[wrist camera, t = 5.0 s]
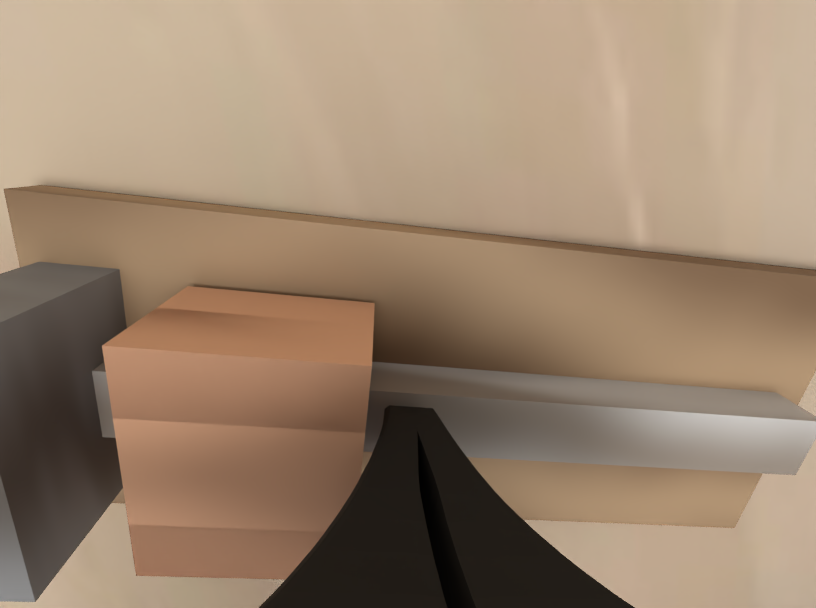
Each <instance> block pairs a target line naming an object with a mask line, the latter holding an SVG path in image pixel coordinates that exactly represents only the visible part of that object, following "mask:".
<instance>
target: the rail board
mask: <svg viewBox="0 0 816 608" xmlns="http://www.w3.org/2000/svg"><path fill="white" fill-rule="evenodd" d="M4 193H5V198H6V203H7V208H8V212H9V217H10V222H11V227H12V232H13V236H14V241H15V246H16V251H17V255H18V260H19V265H20V268H17V269H14V270H11V271H8V272H5V273H2V274H0V601H15V602H36V600H37V599H38V598H39V596H40V595H41V594H42V592H43V591H44V590H45V588H46V587H47V586H48V585H49V583H50V582H51V581H52V579H53V578H54V577H55V575H56V574H57V573H58V572H59V570H60V569H61V568H62V566H63V565H64V564H65V562H66V561H67V560H68V559H69V557H70V556H71V555H72V553H73V552H74V551H75V549H76V548H77V547H78V546H79V544H80V543H81V542H82V540H83V539H84V538H85V536H86V535H87V534H88V533H89V531H90V530H91V529H92V527H93V526H94V525H95V523H96V522H97V521H98V520H99V518H100V517H101V516H102V514H103V513H104V512H105V510H106V509H107V508H108V507H109V505H110V504H111V503H125V497H124V490H123V484H122V477H121V470H120V464H119V457H118V450H117V444H116V437H115V430H114V423H113V417H112V410H111V403H110V397H109V390H108V383H107V377H106V370H105V363H104V356H103V350H102V345H104V344H105V343H107V342H108V341H109V340H111V339H112V338H114V337H115V336H117V335H118V334H120V333H121V332H122V331H124V330H125V329H127V328H128V327H130V326H131V325H132V324H134V323H135V322H137V321H138V320H140V319H141V318H143V317H144V316H145V315H147V314H148V313H150V312H151V311H153V310H154V309H156V308H157V307H158V306H160V305H161V304H163V303H164V302H166V301H167V300H168V299H170V298H171V297H173V296H174V295H176V294H177V293H179V292H180V291H181V290H183V289H184V288H186V287H187V286H192V287H203V288H214V289H225V290H236V291H247V292H258V293H269V294H280V295H291V296H302V297H314V298H325V299H336V300H347V301H358V302H369V303H375V308H374V330H373V353H372V370H371V380H370V390H369V400H368V410H367V420H366V430H365V440H364V450H363V460H362V470H361V475H362V473H363V471H364V469H365V467H366V465H367V463H368V461H369V459H370V457H371V455H372V453H373V450H374V448H375V445H376V443H377V440H378V438H379V435H380V432H381V429H382V426H383V418H384V410H385V408H386V407H388V406H389V405H393V406H408V407H422V408H433V409H434V410H435V412H436V413H437V414H438V416H439V418H440V419H441V421H442V422H443V424H444V425H445V427H446V428H447V430H448V431H449V433H450V434H451V436H452V437H453V438H454V440H455V441H456V443H457V444H458V446H459V447H460V448H461V450H462V451H463V452H464V454H465V455H466V456H467V458H468V459H469V460H470V462H471V463H472V464H473V466H474V467H475V468H476V469H477V471H478V472H479V473H480V474H481V475H482V477H483V478H484V479H485V480H486V481H487V483H488V484H489V485H490V486H491V487H492V488H493V490H494V491H495V492H496V493H497V494H498V495H499V496H500V497H501V498H502V499H503V501H504V502H505V503H506V504H507V505H508V506H509V507H510V508H511V509H512V510H514V511H515V512H516V513H517V514H518V515H519V516H520V517H521V518H522V519H526V520H551V521H575V522H600V523H625V524H650V525H674V526H699V527H724V528H735V526H736V524H737V522H738V520H739V518H740V516H741V514H742V512H743V510H744V508H745V506H746V505H747V503H748V501H749V499H750V497H751V495H752V493H753V491H754V489H755V487H756V485H757V483H758V481H759V479H760V477H761V475H762V474H763V473H765V474H784V475H796V473H797V471H798V470H799V468H800V466H801V464H802V462H803V461H804V459H805V457H806V455H807V453H808V452H809V450H810V448H811V446H812V444H813V442H814V441H815V439H816V416H814V415H812V414H811V413H809V412H808V411H806V410H804V409H803V408H801V407H799V406H798V404H799V402H800V400H801V398H802V396H803V394H804V392H805V390H806V388H807V387H808V385H809V383H810V381H811V379H812V377H813V375H814V373H815V371H816V270H809V269H800V268H791V267H782V266H773V265H764V264H755V263H746V262H736V261H727V260H718V259H709V258H700V257H691V256H682V255H673V254H664V253H654V252H645V251H636V250H627V249H618V248H609V247H600V246H591V245H581V244H572V243H563V242H554V241H545V240H536V239H527V238H518V237H508V236H499V235H490V234H481V233H472V232H463V231H454V230H445V229H436V228H426V227H417V226H408V225H399V224H390V223H381V222H372V221H363V220H353V219H344V218H335V217H326V216H317V215H308V214H299V213H290V212H280V211H271V210H262V209H253V208H244V207H235V206H226V205H217V204H207V203H198V202H189V201H180V200H171V199H162V198H153V197H144V196H135V195H125V194H116V193H107V192H98V191H89V190H80V189H71V188H62V187H52V186H43V185H39V186H29V187H19V188H9V189H4Z"/></svg>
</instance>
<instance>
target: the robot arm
mask: <svg viewBox="0 0 816 608" xmlns="http://www.w3.org/2000/svg"><path fill="white" fill-rule="evenodd" d="M259 608H635V607H633V606H631V605H630V604H628V603H627V602H625V601H624V600H622V599H621V598H619V597H618V596H617V595H615V594H614V593H612V592H611V591H610V590H608V589H607V588H605V587H604V586H603V585H601V584H600V583H599V582H597V581H596V580H595V579H593V578H592V577H591V576H589V575H588V574H586V573H585V572H584V571H582V570H581V569H580V568H579V567H577V566H576V565H575V564H574V563H572V562H571V561H570V560H568V559H567V558H566V557H565V556H563V555H562V554H561V553H560V552H559V551H558V550H556V549H555V548H554V547H553V546H552V545H551V544H549V543H548V542H547V541H546V540H545V539H543V538H542V537H541V536H540V535H539V534H538V533H537V532H535V531H534V530H533V529H532V528H531V527H530V526H529V525H528V524H527V523H526V522H525V521H524V520H523V519H522V518H521V517H520V516H519V515H518V514H517V513H516V512H515V511H514V510H512V509H511V508H510V507H509V506H508V505H507V504H506V503H505V502H504V501H503V499H502V498H501V497H500V496H499V495H498V494H497V493H496V492H495V491H494V490H493V488H492V487H491V486H490V485H489V484H488V483H487V481H486V480H485V479H484V478H483V477H482V475H481V474H480V473H479V472H478V471H477V469H476V468H475V467H474V466H473V464H472V463H471V462H470V460H469V459H468V458H467V456H466V455H465V454H464V452H463V451H462V450H461V448H460V447H459V446H458V444H457V443H456V441H455V440H454V438H453V437H452V436H451V434H450V433H449V431H448V430H447V428H446V427H445V425H444V424H443V422H442V421H441V419H440V418H439V416H438V414H437V413H436V412H435V410H434V409H433V408H422V407H408V406H393V405H389V406H388V407H386V408H385V410H384V418H383V426H382V429H381V432H380V435H379V438H378V440H377V443H376V445H375V448H374V450H373V453H372V455H371V457H370V459H369V461H368V463H367V465H366V467H365V469H364V471H363V473H362V475H361V477H360V479H359V481H358V482H357V484H356V486H355V488H354V489H353V491H352V493H351V494H350V496H349V498H348V499H347V501H346V502H345V504H344V506H343V507H342V509H341V510H340V512H339V513H338V515H337V516H336V517H335V519H334V520H333V522H332V523H331V524H330V526H329V527H328V529H327V530H326V531H325V533H324V534H323V535H322V537H321V538H320V539H319V541H318V542H317V543H316V545H315V546H314V547H313V548H312V550H311V551H310V552H309V553H308V554H307V555H306V557H305V558H304V559H303V560H302V561H301V562H300V564H299V565H298V566H297V567H296V568H295V569H294V571H293V572H292V573H291V574H290V575H289V576H288V578H287V579H286V580H285V581H284V582H283V583H282V584H281V585H280V587H279V588H278V589H277V590H276V591H275V592H274V593H273V594H272V595H271V596H270V597H269V598H268V599H267V600H266V601H265V602H264V603H263V604H262V605H261V606H260V607H259Z"/></svg>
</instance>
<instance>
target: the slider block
mask: <svg viewBox="0 0 816 608" xmlns="http://www.w3.org/2000/svg"><path fill="white" fill-rule="evenodd" d="M374 308H375V303H369V302H358V301H347V300H336V299H325V298H314V297H302V296H291V295H280V294H269V293H258V292H247V291H236V290H225V289H214V288H203V287H192V286H187V287H186V288H184V289H183V290H181V291H180V292H179V293H177V294H176V295H174V296H173V297H171V298H170V299H168V300H167V301H166V302H164V303H163V304H161V305H160V306H158V307H157V308H156V309H154V310H153V311H151V312H150V313H148V314H147V315H145V316H144V317H143V318H141V319H140V320H138V321H137V322H135V323H134V324H132V325H131V326H130V327H128V328H127V329H125V330H124V331H122V332H121V333H120V334H118V335H117V336H115V337H114V338H112V339H111V340H109V341H108V342H107V343H105V344H104V345H102V350H103V356H104V363H105V370H106V377H107V383H108V390H109V397H110V403H111V410H112V417H113V423H114V430H115V437H116V444H117V450H118V457H119V464H120V470H121V477H122V484H123V490H124V497H125V504H126V510H127V517H128V524H129V531H130V537H131V544H132V551H133V557H134V564H135V571H136V576H170V577H211V578H252V579H287V578H288V576H289V575H290V574H291V573H292V572H293V571H294V569H295V568H296V567H297V566H298V565H299V564H300V562H301V561H302V560H303V559H304V558H305V557H306V555H307V554H308V553H309V552H310V551H311V550H312V548H313V547H314V546H315V545H316V543H317V542H318V541H319V539H320V538H321V537H322V535H323V534H324V533H325V531H326V530H327V529H328V527H329V526H330V524H331V523H332V522H333V520H334V519H335V517H336V516H337V515H338V513H339V512H340V510H341V509H342V507H343V506H344V504H345V502H346V501H347V499H348V498H349V496H350V494H351V493H352V491H353V489H354V488H355V486H356V484H357V482H358V481H359V479H360V477H361V470H362V460H363V450H364V440H365V430H366V420H367V410H368V400H369V390H370V380H371V370H372V353H373V330H374Z"/></svg>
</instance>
